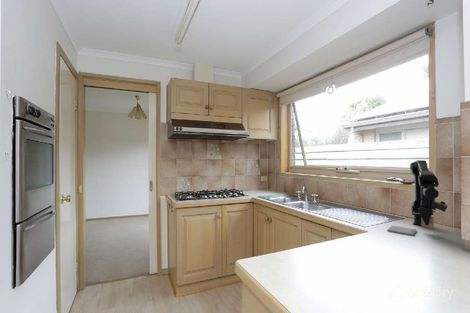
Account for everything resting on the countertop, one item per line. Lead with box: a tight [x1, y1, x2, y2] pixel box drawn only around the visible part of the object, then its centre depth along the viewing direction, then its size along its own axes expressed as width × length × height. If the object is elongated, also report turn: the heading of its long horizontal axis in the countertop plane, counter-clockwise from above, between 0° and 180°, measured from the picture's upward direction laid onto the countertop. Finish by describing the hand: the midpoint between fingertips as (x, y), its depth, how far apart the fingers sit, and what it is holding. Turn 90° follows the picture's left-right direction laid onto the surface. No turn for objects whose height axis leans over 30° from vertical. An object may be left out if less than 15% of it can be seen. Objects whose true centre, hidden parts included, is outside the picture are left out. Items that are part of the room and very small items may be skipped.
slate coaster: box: [387, 225, 418, 237], centre depth 137 cm, size 12×12×1 cm
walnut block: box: [420, 216, 435, 229], centre depth 132 cm, size 5×5×5 cm
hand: (427, 224), depth 132 cm, fingers closed on walnut block, 5 cm apart
